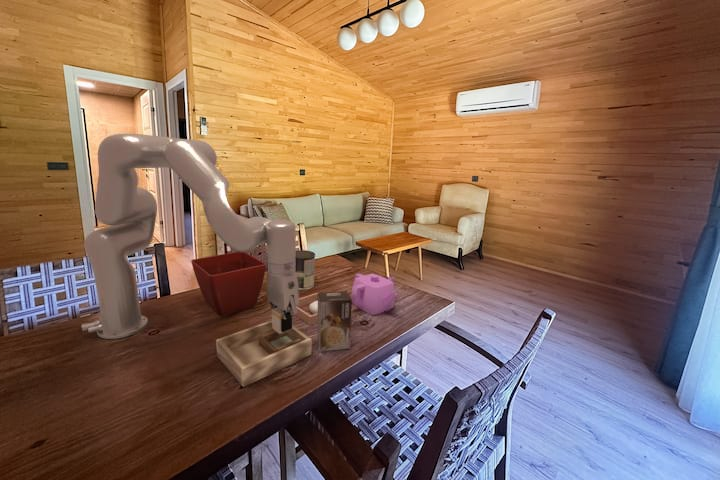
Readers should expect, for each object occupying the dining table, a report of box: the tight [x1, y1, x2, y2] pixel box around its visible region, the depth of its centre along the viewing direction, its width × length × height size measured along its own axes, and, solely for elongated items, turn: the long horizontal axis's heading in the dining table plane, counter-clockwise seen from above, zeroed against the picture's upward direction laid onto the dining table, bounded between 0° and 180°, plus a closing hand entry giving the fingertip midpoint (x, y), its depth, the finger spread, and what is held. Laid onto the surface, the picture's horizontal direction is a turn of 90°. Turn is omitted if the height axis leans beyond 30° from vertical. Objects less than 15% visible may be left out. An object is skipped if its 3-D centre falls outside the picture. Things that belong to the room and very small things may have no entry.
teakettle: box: [350, 273, 399, 316], centre depth 121 cm, size 17×17×12 cm
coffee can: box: [295, 249, 316, 291], centre depth 135 cm, size 10×10×14 cm
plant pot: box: [191, 251, 267, 317], centre depth 113 cm, size 19×19×17 cm
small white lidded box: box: [271, 307, 291, 334], centre depth 90 cm, size 4×4×6 cm
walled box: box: [215, 319, 313, 388], centre depth 89 cm, size 20×16×5 cm
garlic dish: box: [288, 292, 319, 326], centre depth 115 cm, size 14×14×3 cm
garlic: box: [308, 301, 318, 315], centre depth 115 cm, size 8×7×4 cm
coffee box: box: [316, 290, 353, 353], centre depth 94 cm, size 9×6×16 cm
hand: (282, 326), depth 91 cm, fingers closed on small white lidded box, 4 cm apart
